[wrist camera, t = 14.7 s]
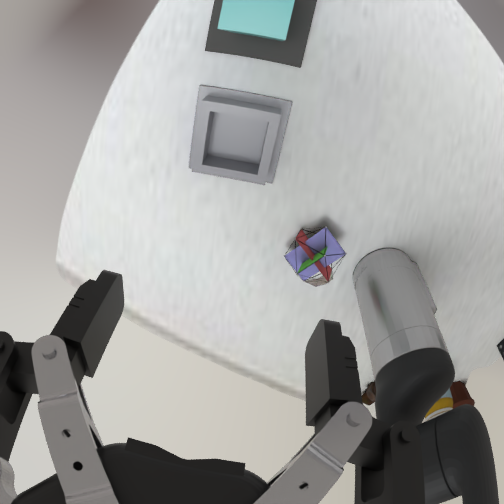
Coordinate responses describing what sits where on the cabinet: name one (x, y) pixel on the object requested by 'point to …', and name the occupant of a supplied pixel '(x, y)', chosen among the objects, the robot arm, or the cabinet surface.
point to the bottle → (441, 406)
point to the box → (501, 348)
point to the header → (238, 134)
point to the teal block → (257, 17)
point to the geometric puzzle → (315, 256)
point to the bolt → (369, 394)
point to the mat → (264, 47)
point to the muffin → (460, 394)
